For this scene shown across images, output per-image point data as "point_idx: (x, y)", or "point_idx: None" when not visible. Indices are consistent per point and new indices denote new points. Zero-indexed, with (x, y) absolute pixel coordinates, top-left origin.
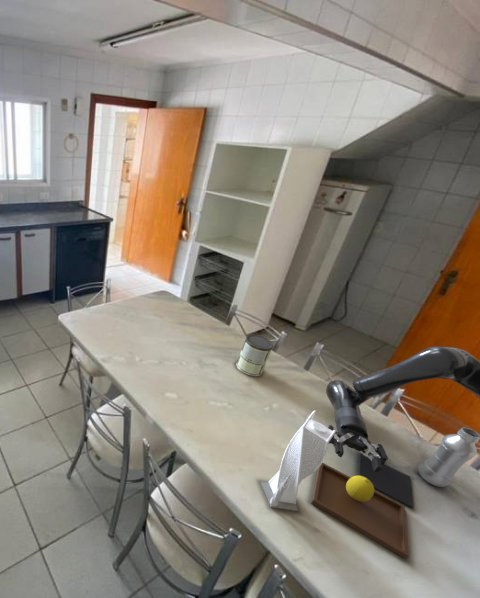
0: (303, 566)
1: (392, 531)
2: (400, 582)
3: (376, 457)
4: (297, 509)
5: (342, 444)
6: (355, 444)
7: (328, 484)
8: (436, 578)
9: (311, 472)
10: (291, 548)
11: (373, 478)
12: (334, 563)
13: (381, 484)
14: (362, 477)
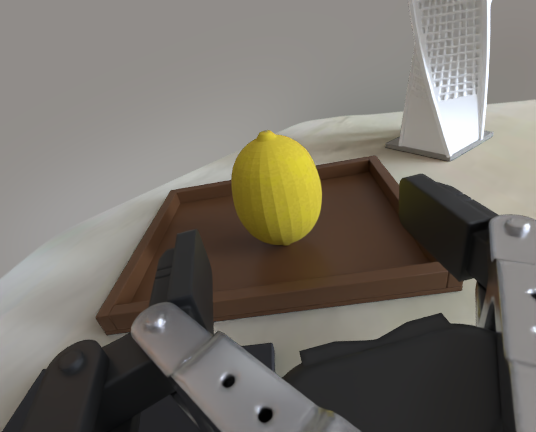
0: (333, 119)
1: (183, 230)
2: (200, 173)
3: (178, 296)
4: (388, 143)
5: (480, 321)
6: (385, 343)
7: (370, 230)
8: (125, 211)
9: (413, 10)
10: (357, 120)
11: (189, 423)
12: (298, 139)
13: (152, 405)
14: (279, 140)
